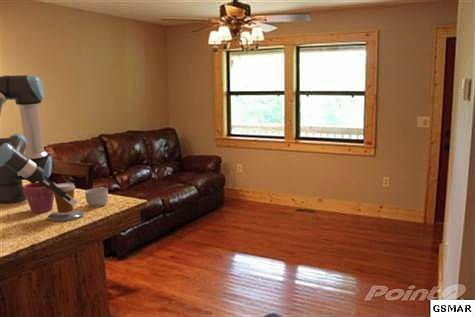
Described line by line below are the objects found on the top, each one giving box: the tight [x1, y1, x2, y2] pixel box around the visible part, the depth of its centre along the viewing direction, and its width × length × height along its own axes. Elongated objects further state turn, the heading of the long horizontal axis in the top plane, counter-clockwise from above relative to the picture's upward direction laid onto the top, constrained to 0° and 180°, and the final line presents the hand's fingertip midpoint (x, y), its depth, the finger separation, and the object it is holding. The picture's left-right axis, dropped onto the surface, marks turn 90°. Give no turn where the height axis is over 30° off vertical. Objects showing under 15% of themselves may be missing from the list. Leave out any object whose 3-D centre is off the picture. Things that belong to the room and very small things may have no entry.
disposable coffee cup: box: [54, 182, 76, 213], centre depth 189 cm, size 10×10×12 cm
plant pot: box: [23, 181, 57, 214], centre depth 200 cm, size 14×14×13 cm
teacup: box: [84, 186, 109, 208], centre depth 210 cm, size 14×11×8 cm
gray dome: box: [47, 209, 84, 223], centre depth 191 cm, size 15×15×1 cm
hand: (72, 201), depth 191 cm, fingers closed on disposable coffee cup, 9 cm apart
